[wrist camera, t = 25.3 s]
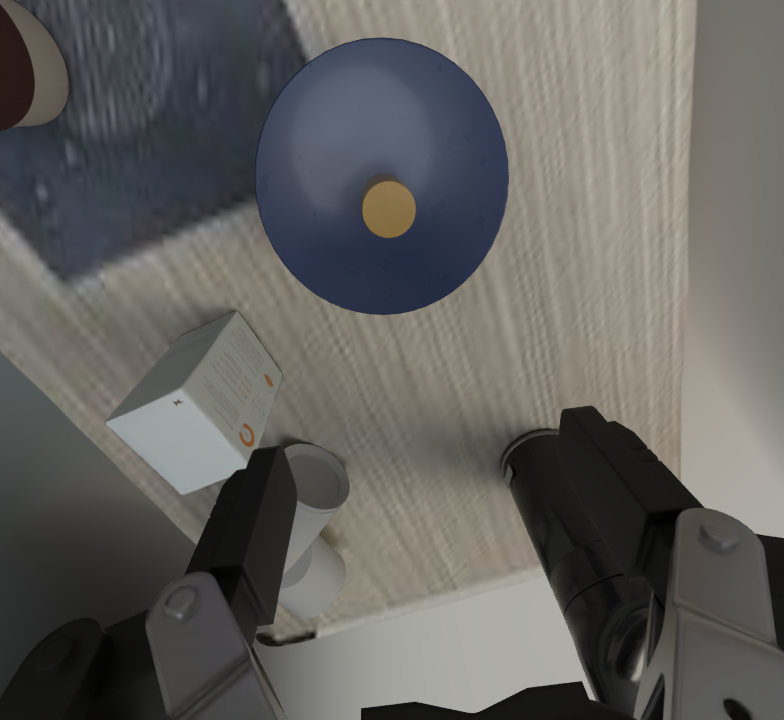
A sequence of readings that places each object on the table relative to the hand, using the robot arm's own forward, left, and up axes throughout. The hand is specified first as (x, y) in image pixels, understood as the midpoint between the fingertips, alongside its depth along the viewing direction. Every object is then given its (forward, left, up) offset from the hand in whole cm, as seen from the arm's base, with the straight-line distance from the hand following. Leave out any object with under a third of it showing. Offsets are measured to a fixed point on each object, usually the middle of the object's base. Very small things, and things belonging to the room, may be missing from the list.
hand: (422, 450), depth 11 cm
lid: (+3, -4, -16) cm, 17 cm away
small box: (+5, +17, -26) cm, 32 cm away
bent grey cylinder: (-11, +31, -26) cm, 42 cm away
